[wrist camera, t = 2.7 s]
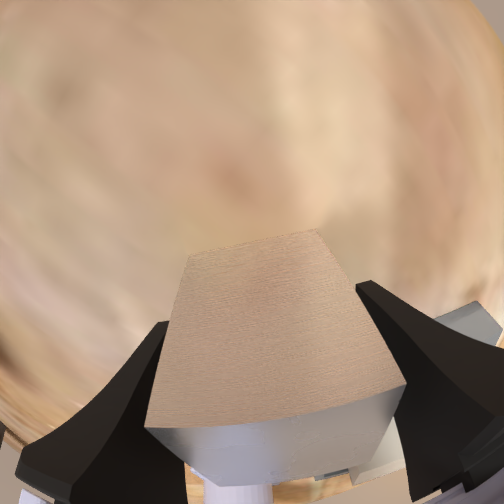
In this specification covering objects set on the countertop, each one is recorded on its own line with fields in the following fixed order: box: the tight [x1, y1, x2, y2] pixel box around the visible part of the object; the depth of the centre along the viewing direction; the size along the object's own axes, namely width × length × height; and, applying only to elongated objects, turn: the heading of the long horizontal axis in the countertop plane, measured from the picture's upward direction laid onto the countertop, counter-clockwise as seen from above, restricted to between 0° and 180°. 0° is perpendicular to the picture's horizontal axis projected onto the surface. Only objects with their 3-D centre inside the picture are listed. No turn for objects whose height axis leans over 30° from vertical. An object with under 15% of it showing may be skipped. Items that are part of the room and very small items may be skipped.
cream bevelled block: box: [348, 417, 406, 486], centre depth 16 cm, size 5×6×4 cm
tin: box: [144, 229, 407, 487], centre depth 8 cm, size 5×5×7 cm
